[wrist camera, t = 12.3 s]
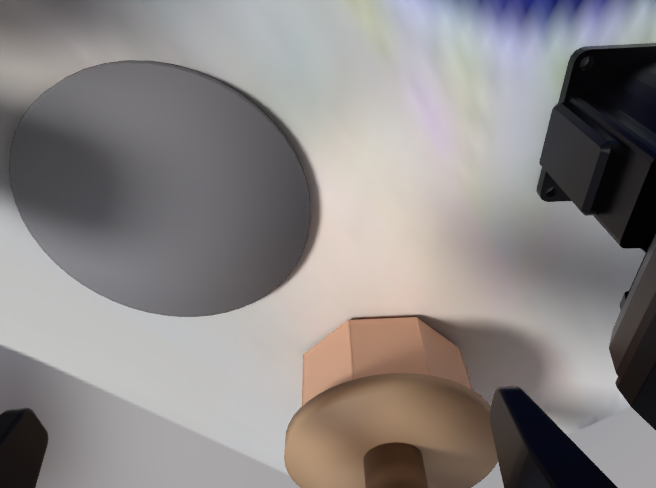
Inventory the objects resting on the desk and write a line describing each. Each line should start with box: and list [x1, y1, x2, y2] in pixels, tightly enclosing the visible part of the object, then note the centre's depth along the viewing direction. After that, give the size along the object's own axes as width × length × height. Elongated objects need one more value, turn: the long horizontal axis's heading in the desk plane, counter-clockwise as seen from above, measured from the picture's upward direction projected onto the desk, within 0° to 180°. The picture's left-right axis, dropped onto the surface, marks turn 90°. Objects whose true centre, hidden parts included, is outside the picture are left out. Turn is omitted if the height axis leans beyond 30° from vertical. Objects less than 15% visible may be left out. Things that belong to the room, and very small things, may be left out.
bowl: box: [302, 317, 473, 406], centre depth 26 cm, size 9×9×5 cm
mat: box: [9, 61, 310, 317], centre depth 21 cm, size 13×13×1 cm
